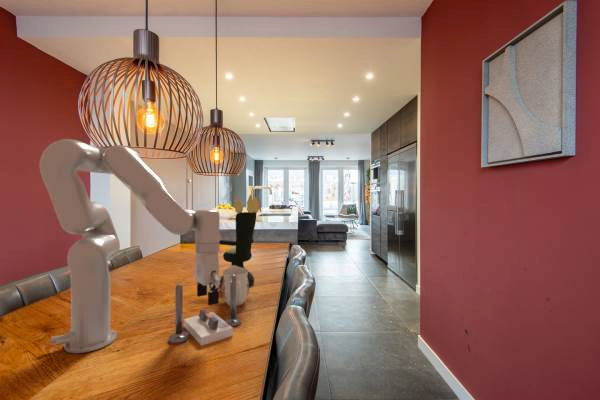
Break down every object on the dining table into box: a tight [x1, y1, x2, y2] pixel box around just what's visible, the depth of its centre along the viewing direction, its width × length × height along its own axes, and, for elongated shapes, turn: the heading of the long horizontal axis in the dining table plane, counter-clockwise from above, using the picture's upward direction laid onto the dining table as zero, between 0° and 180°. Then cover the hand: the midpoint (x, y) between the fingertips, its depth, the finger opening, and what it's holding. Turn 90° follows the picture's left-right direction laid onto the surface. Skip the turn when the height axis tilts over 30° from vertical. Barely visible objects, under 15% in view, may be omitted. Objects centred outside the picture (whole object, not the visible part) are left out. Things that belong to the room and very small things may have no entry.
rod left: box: [168, 283, 190, 345], centre depth 89 cm, size 6×6×17 cm
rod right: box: [224, 274, 242, 328], centre depth 100 cm, size 6×6×17 cm
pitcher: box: [221, 264, 250, 307], centre depth 118 cm, size 11×18×14 cm, turn 21°
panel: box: [183, 311, 234, 347], centre depth 95 cm, size 10×16×3 cm, turn 39°
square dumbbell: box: [198, 308, 218, 329], centre depth 95 cm, size 2×12×2 cm, turn 39°
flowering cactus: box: [219, 193, 260, 287], centre depth 143 cm, size 19×22×45 cm
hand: (207, 299), depth 95 cm, fingers open, 9 cm apart
